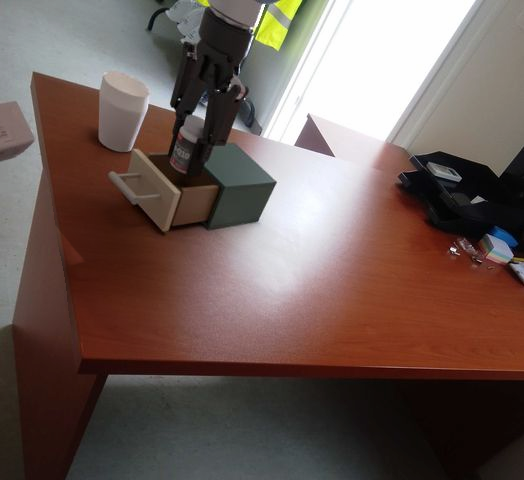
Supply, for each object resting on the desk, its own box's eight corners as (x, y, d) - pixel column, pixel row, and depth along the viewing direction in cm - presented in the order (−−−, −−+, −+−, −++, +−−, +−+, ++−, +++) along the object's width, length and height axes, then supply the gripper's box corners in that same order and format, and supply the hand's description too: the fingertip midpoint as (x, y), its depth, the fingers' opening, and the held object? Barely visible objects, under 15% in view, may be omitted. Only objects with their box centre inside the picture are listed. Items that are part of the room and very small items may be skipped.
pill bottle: (164, 160, 79) (177, 113, 73) (183, 158, 82) (197, 112, 77) (182, 176, 78) (197, 129, 72) (201, 173, 81) (217, 128, 76)
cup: (146, 153, 96) (160, 96, 88) (114, 158, 90) (126, 98, 82) (116, 129, 98) (127, 70, 90) (82, 133, 91) (91, 70, 83)
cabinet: (207, 230, 87) (225, 186, 81) (166, 187, 91) (180, 142, 85) (258, 221, 97) (277, 182, 91) (219, 182, 101) (234, 142, 95)
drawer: (134, 236, 75) (145, 196, 70) (94, 190, 79) (102, 148, 74) (218, 222, 89) (233, 187, 83) (181, 183, 92) (192, 148, 87)
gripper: (289, 54, 64) (230, 195, 80) (212, -8, 69) (171, 136, 85) (253, 46, 59) (198, 198, 75) (173, -20, 64) (137, 136, 80)
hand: (184, 165), depth 80 cm, fingers closed on pill bottle, 5 cm apart
